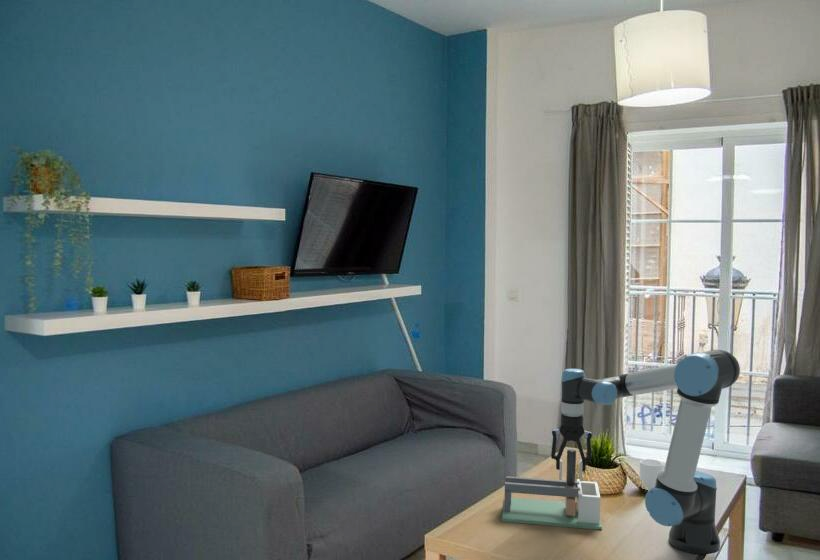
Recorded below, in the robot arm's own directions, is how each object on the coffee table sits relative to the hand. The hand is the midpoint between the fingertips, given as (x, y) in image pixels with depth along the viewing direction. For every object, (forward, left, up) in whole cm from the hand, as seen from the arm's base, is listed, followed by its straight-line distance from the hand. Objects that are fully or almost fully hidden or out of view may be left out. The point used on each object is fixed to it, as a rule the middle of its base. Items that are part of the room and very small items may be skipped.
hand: (570, 479), depth 246 cm
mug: (+35, -33, -13) cm, 50 cm away
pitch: (0, +7, -13) cm, 15 cm away
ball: (0, -4, -9) cm, 10 cm away
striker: (0, 0, -11) cm, 11 cm away
